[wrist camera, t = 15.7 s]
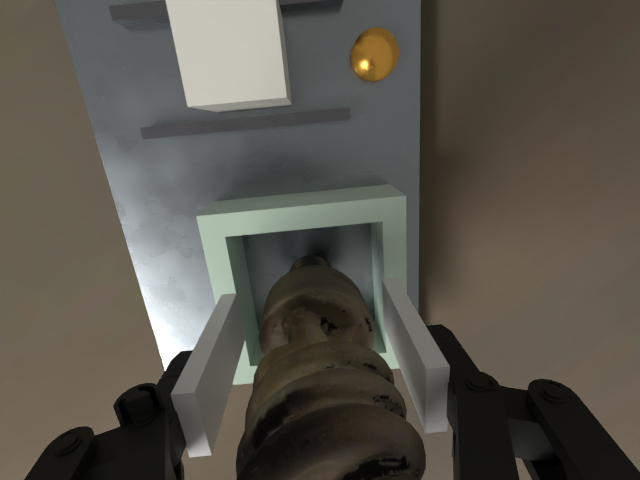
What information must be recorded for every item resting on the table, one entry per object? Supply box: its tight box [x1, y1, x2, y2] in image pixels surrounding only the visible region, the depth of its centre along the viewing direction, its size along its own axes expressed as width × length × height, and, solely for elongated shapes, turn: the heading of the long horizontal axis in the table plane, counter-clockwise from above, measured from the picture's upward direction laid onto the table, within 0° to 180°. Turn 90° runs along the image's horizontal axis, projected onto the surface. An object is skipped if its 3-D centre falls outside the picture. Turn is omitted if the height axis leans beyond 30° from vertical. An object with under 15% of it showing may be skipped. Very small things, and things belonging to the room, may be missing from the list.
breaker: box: [166, 0, 292, 112], centre depth 15 cm, size 4×4×5 cm
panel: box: [54, 0, 421, 371], centre depth 19 cm, size 18×32×2 cm, turn 5°
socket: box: [196, 184, 407, 385], centre depth 20 cm, size 10×10×4 cm
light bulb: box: [236, 255, 426, 480], centre depth 14 cm, size 6×6×15 cm
